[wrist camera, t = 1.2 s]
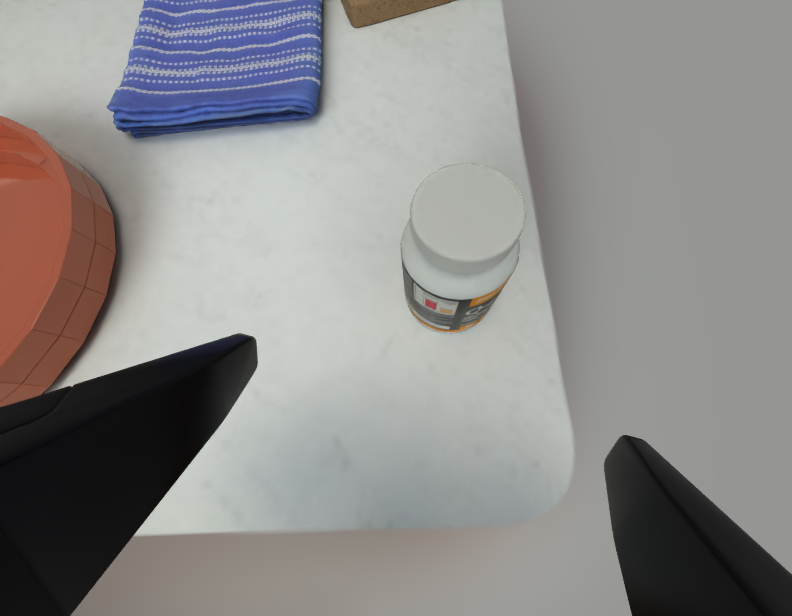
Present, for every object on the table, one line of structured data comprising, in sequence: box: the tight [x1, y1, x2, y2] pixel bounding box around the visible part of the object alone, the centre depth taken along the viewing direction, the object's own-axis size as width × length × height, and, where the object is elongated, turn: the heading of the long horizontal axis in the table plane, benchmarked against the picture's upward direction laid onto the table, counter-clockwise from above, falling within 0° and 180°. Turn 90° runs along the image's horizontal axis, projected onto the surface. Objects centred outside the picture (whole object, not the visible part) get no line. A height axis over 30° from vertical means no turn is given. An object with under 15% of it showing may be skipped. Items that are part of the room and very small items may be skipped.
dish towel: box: [107, 0, 323, 138], centre depth 31 cm, size 17×24×3 cm
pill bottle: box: [401, 163, 525, 333], centre depth 19 cm, size 6×6×10 cm
